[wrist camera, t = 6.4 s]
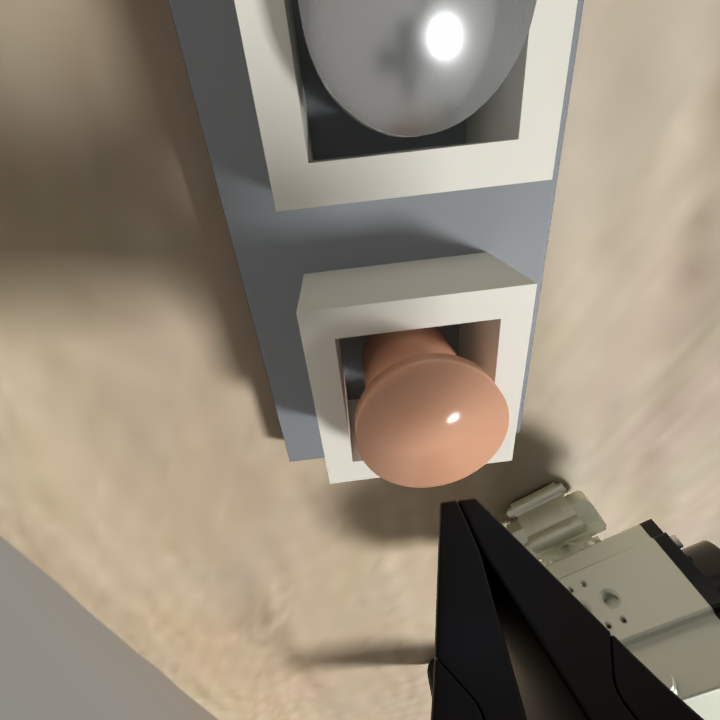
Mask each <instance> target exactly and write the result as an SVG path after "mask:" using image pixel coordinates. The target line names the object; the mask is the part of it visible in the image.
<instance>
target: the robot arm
mask: <svg viewBox="0 0 720 720" xmlns="http://www.w3.org/2000/svg"><path fill="white" fill-rule="evenodd" d="M431 720H704V719H703V718H702V717H701V716H700V715H699V714H697V713H696V712H695V711H694V710H693V709H692V708H691V707H690V706H688V705H687V704H686V703H685V702H684V701H683V700H682V699H681V698H679V697H678V696H677V695H676V694H675V693H674V692H673V691H672V690H670V689H669V688H668V687H667V686H666V685H665V684H664V683H663V682H662V681H661V680H660V679H659V678H657V677H656V676H655V675H654V674H653V673H652V672H651V671H650V670H649V669H648V668H647V667H646V666H645V665H644V664H643V663H642V662H641V661H640V660H639V659H638V658H637V657H636V656H634V655H633V654H632V653H631V652H630V651H629V650H628V649H627V648H626V647H625V646H624V645H623V644H622V643H621V642H620V641H619V640H618V639H617V638H616V637H615V636H614V635H611V633H610V631H609V630H608V629H607V628H606V627H605V626H604V625H603V624H602V623H601V622H600V621H599V620H598V619H597V618H596V617H595V616H594V615H593V614H592V613H591V612H590V611H589V610H588V609H587V608H586V607H585V606H584V605H583V604H582V603H581V602H580V601H579V600H578V599H577V598H576V597H575V596H574V595H573V594H572V593H571V592H570V591H569V590H568V589H567V588H566V587H565V586H564V585H563V584H562V583H561V582H560V581H559V580H558V579H557V578H556V577H555V576H554V575H553V574H552V573H551V572H550V571H549V570H548V569H547V568H546V567H545V566H544V565H543V564H542V563H541V562H540V561H539V560H538V559H537V558H536V557H535V556H534V555H533V554H532V553H531V552H530V551H529V550H528V549H527V548H526V547H525V546H524V545H523V544H522V543H520V542H519V541H518V540H517V539H516V538H515V537H514V536H513V535H512V534H511V533H510V532H509V531H508V530H507V529H506V528H505V527H504V526H503V525H502V524H501V523H500V522H499V521H498V520H497V519H496V518H495V517H494V516H493V515H492V514H491V513H490V512H489V511H488V510H487V509H486V508H485V507H484V506H483V505H482V504H481V503H480V502H479V501H478V500H477V499H476V498H474V497H470V498H462V499H459V500H458V501H457V500H447V501H442V502H441V503H440V519H439V546H438V573H437V600H436V628H435V655H434V677H433V695H432V710H431Z"/></svg>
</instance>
